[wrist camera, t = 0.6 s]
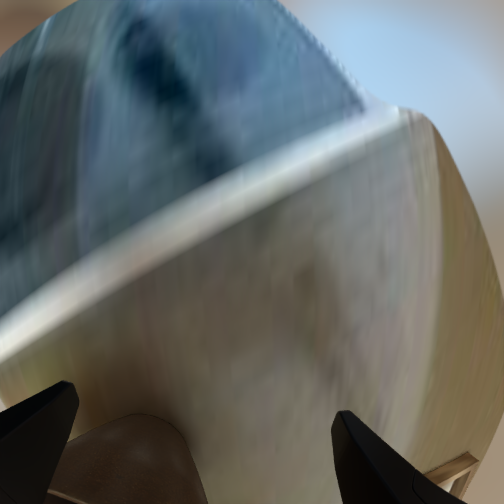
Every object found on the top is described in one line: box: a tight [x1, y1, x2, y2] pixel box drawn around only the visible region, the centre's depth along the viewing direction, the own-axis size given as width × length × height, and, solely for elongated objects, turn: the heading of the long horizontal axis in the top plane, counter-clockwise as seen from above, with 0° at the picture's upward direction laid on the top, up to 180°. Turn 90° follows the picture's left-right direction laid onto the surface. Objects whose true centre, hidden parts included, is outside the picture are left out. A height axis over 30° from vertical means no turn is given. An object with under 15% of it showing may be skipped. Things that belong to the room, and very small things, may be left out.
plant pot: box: [43, 414, 208, 504], centre depth 15 cm, size 15×15×16 cm
